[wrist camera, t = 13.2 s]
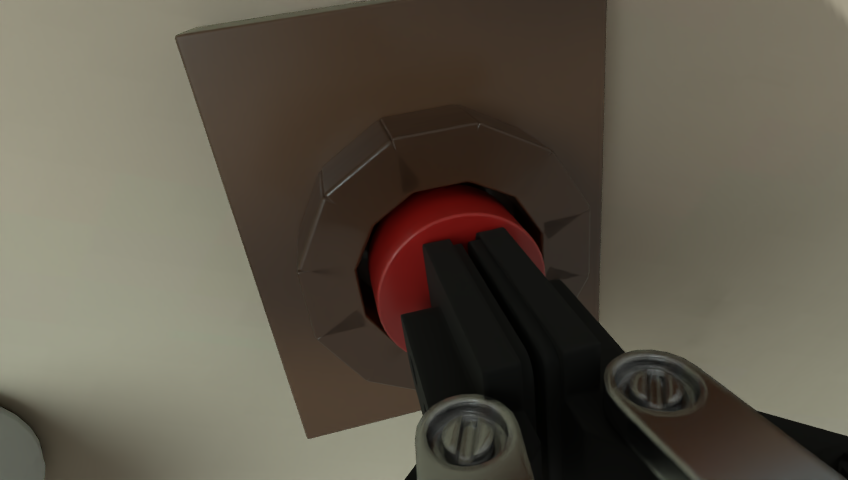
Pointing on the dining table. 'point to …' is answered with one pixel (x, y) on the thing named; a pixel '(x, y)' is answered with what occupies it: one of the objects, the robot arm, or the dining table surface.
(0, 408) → the beverage can
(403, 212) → the button
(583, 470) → the robot arm
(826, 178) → the dining table surface
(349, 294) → the button block
